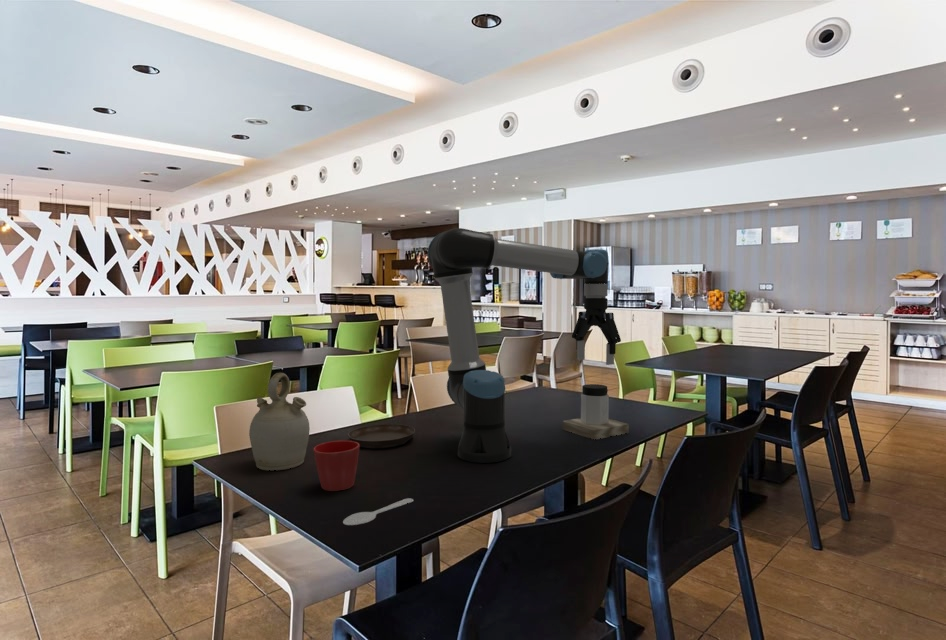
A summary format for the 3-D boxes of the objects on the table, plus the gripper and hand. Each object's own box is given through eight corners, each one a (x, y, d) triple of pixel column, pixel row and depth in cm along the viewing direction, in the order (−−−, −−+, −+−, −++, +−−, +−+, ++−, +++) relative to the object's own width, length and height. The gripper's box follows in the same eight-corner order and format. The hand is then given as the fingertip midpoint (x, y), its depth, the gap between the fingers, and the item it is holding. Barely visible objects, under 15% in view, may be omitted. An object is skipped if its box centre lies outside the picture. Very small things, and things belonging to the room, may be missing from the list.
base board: (594, 439, 173) (594, 430, 172) (562, 429, 185) (562, 420, 185) (628, 433, 180) (628, 424, 180) (596, 423, 193) (596, 415, 193)
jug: (322, 460, 154) (320, 370, 152) (276, 476, 140) (274, 378, 139) (284, 452, 161) (282, 367, 160) (237, 467, 148) (234, 374, 147)
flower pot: (305, 486, 133) (304, 446, 133) (345, 475, 141) (344, 437, 141) (328, 497, 126) (327, 455, 125) (369, 485, 134) (368, 445, 133)
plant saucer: (335, 448, 167) (334, 437, 166) (368, 431, 186) (368, 421, 186) (397, 453, 160) (397, 442, 160) (425, 435, 180) (425, 425, 180)
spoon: (420, 503, 123) (420, 501, 123) (352, 529, 110) (352, 527, 109) (404, 497, 126) (404, 495, 126) (336, 522, 113) (336, 519, 113)
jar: (596, 426, 177) (596, 389, 176) (576, 422, 183) (576, 386, 182) (613, 422, 183) (613, 386, 182) (593, 418, 189) (593, 383, 188)
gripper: (633, 297, 172) (632, 365, 173) (578, 296, 193) (578, 357, 194) (615, 297, 168) (614, 367, 169) (561, 297, 189) (561, 358, 190)
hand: (595, 362), depth 182 cm, fingers open, 13 cm apart
